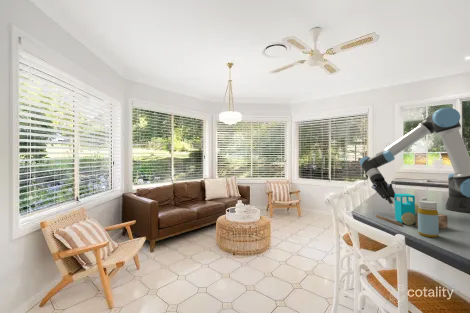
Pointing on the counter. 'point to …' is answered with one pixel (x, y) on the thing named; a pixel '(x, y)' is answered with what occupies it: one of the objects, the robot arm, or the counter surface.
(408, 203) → the toy train
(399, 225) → the rail far
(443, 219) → the buffer stop
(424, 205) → the bottle
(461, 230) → the counter surface
